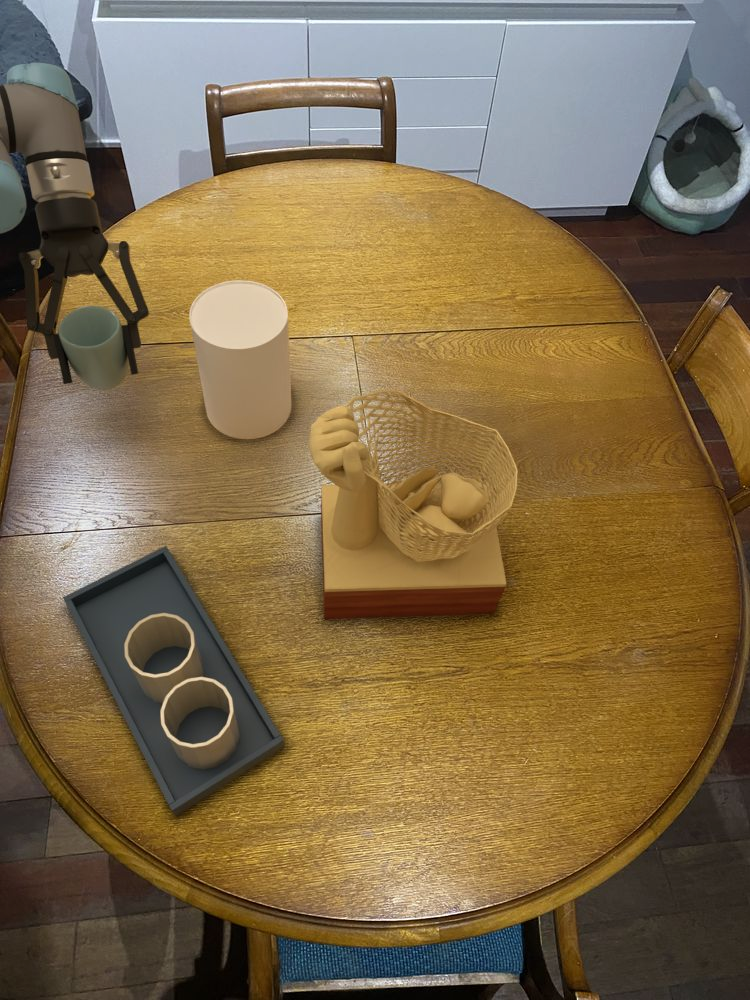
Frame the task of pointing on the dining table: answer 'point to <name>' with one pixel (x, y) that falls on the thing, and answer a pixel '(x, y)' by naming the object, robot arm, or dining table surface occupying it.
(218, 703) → the cup
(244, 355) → the canister
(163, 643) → the cup
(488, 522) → the basket
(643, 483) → the dining table surface
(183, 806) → the tray
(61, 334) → the cup
